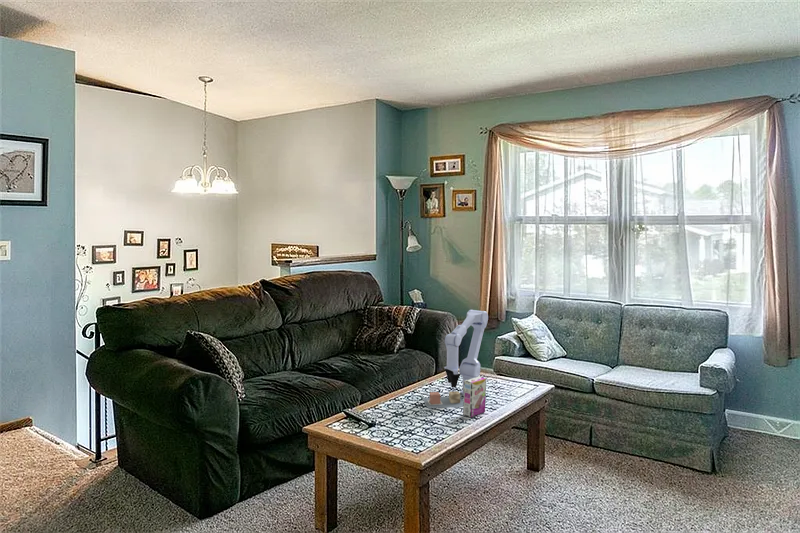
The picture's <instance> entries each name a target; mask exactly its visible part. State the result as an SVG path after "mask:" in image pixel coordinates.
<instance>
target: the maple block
mask: <svg viewBox="0 0 800 533" xmlns="http://www.w3.org/2000/svg"><path fill="white" fill-rule="evenodd" d="M448 397H449V401H450V402H451V403H460V397H461V392H460V391H458V390H457V391H456V390H455V391H449V392H448Z"/></svg>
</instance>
